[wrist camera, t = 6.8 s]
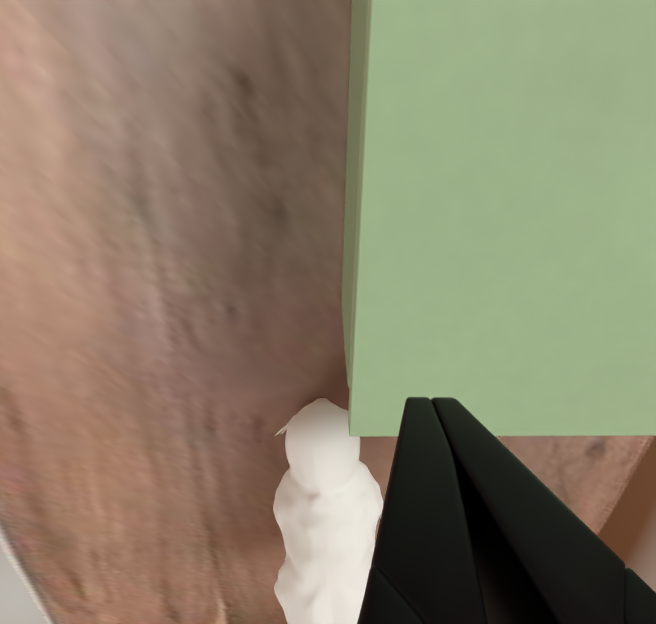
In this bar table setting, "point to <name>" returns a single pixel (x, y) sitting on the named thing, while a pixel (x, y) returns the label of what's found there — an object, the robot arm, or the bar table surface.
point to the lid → (508, 216)
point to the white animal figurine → (325, 518)
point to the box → (353, 168)
